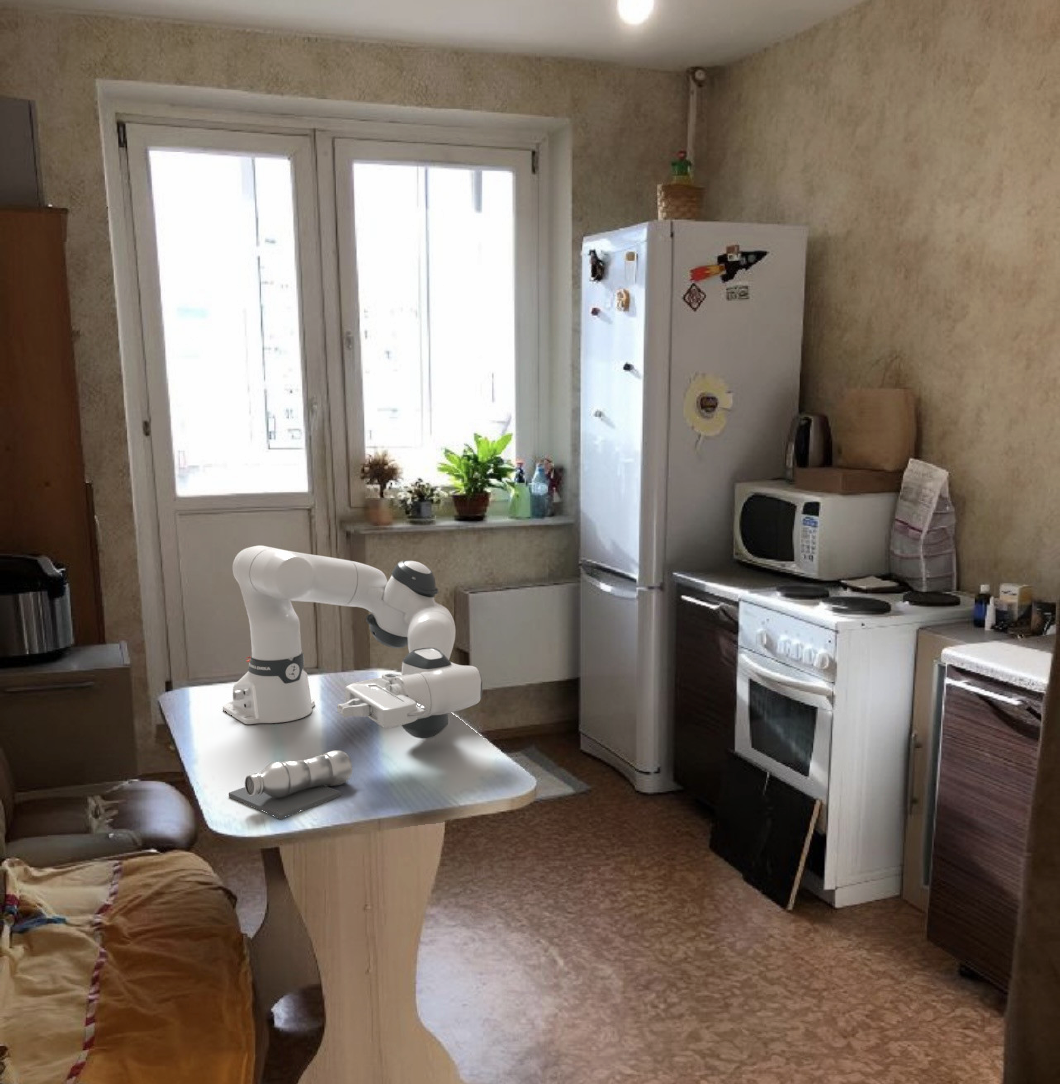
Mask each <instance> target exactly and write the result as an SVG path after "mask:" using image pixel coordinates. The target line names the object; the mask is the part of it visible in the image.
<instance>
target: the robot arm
mask: <svg viewBox="0 0 1060 1084" xmlns="http://www.w3.org/2000/svg"><path fill="white" fill-rule="evenodd" d="M234 557H235V558H234V560H233V562H232V566H231V567H232V575H233V577H234V579H235V580H236V582H237V584H238V586H239V588H240V592H241V596H242V599H243V603H244V606H245V609H246V614H247V617H248V623H249V632H250V641H251V645H250V646H251V656H248V657H247V656H246V659H248V660H246V663H248V668H247V672H246V673H245V674H244V675H243V676H242V677H241V678H240V679H238V681H237V682H235V684H234V685H233V687H232V701H230V702H227V703H226V704H224V705H222V711H223V710H224V712H225V711H226V712H227V713H226V712H225V713H226V714H228V715H229V716H231V715H232V716H231V717H233V718H234V719H236V720H238V721H239V722H241V723H243V724H244V725H254V724H273V723H274V724H277V723H285V722H286V723H287V722H292V721H296V720H299V719H303V718H304V717H305V718H306V717H307V716H308V715H309V716H310V714H311V713H312V712H313V707H315V705H316V704H315V700H314V699H312V697H311V690H310V684H309V677H308V672H306V671H305V670H304V668H305V657H304V652H303V651H302V639H301V622H300V618H299V616H298V614H297V613H296V611H295V609H294V606H293V603H292V602H307V603H308V602H309V603H319V604H327V605H335V606H342V607H351V608H353V607H354V608H356V607H357V608H362V609H365V610H366V611H368V612H370V613H369V614H368V615H366V617H365V621H366V623H367V624H369V630H370V632H371V634H372V635H373V637H374V639H375V640H376V641H377V642H378V643H380V644H382V645H383V646H386V647H389V648H392V649H401V648H402V649H403V648H405V647H407V649H408V654H407V655H405V656H404V658H403V659H402V663H401V674H395V673H390V672H389V673H383V674H382V675H381V678H379V677H375V678H371V679H370V678H369V679H365V680H361V681H357V682H353V683H350V684H348V685H346V686H345V687H344V698H345V699H344V700H345V702H344V703H338V704H337V707H336V708H337V713H338V714H339V715H341V716H342V717H343V718H348V717H349V718H350V717H367V718H369V719H370V720H372V721H373V722H375V723H376V724H377V725H380V727H382V728H384V729H385V728H387V729H391V728H393V729H394V728H397V727H402V729H404V731H405V732H407V733H408V734H409V735H410V736H412V737H414V738H417V739H430V738H434V737H435V736H437V735H438V734H440V733H441V732H443V730H445V728H446V727H448V725H449V714H450V713H454V712H458V711H462V710H465V709H467V708H470V707H474V706H476V705H477V704H478V703H479V702H480V701H481V699H482V696H483V681H482V675H481V673H480V670H479V669H478V667H476V666H474V665H462V664H457V663H455V662H452V661H450V658H451V655H452V651H453V648H454V644H455V641H456V625H455V624H456V623H455V620H454V618H453V616H452V614H451V612H450V610H449V609H448V608H447V607H445V606H444V605H442V604H440V603H438V602H436V601H435V597H436V595H438V594H439V588H437V587H436V586H437V585H436V583H437V582H436V578H435V575H434V573H433V571H432V570H431V569H430V568H429V567H427V566H426V565H425V564H423V563H421V562H419V561H415V560H410V559H409V560H408V559H404V560H401V561H399V562H398V563H397V564H396V565H395V566H394V568H393V569H392V571H391V576H390V578H389V579H387V576H386V575H385V572H383V571H382V570H381V569H378V568H376V567H374V566H371V565H368V564H366V563H362V562H358V561H353V560H348V559H343V558H337V557H330V556H324V555H318V554H317V555H316V554H309V553H305V552H297V551H291V550H286V549H281V548H276V547H272V546H266V545H255V546H250V547H246V548H244V549H242V550H241V551H239V552H238V553H237V554H236V556H234Z"/></svg>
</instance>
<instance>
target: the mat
mask: <svg viewBox="0 0 1060 1084" xmlns="http://www.w3.org/2000/svg"><path fill="white" fill-rule="evenodd" d="M341 795H342V794H341V791H339V790H336V789H334V788H332V787H330V786H327V785H326V786H319V787H312V788H308V789H304V790H301V791H298V792H295V793H292V794H290V795H287V796H285V797H281V798H274V797H271V796H269V795H267V794H265V793H262V794H261V795H253V796H250V795H248V794H247V792H246V789H245V786H244V787H241V788H238V789H236V790H233V791H229V792H228V798H230V797H231V798H230V799H233V800H235V801H237V800H239V801H240V802H239V801H238V802H239V803H242V802H243V803H242V804H244V803H245V805H246V804H247V806H249V805H250V806H249V807H251V806H252V807H251V808H253V807H255V808H257V809H256V810H258V809H259V810H258V811H260V810H263V811H265V812H267V813H268V815H269V814H270V816H271V815H274V816H275V817H274V816H273V817H274V818H276V817H278V818H279V819H278V818H277V819H278V820H283V819H285V818H286V817H285V816H288V815H291V816H293V815H296V814H298V813H300V812H299V811H300V810H303V811H306V810H308V809H311V808H313V807H316V806H318V805H322V804H323V803H326V802H329V801H331V800H334V799H337V798H339V797H340V796H341ZM255 808H254V809H255ZM305 809H306V810H305ZM265 812H264V813H265ZM297 812H298V813H297ZM267 813H266V814H267ZM295 813H296V814H295ZM292 814H293V815H292ZM284 817H285V818H284ZM288 817H289V816H288ZM282 818H283V819H282Z"/></svg>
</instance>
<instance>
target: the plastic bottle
mask: <svg viewBox="0 0 1060 1084" xmlns="http://www.w3.org/2000/svg"><path fill="white" fill-rule="evenodd" d="M352 774H353V764H352V760H351V758H350V756H349V755H348V753H346V752H345V751H342V750H331V751H328V752H324V753H322V754H320V755H318V756H317V755H316V756H314V757H310V758H307V759H306V758H305V759H302V760H301V759H299V760H294V761H293V760H292V761H274V762H272V763H270V764H268V765H267V766H266V767H265V768H264V769H263V770H262V771H261V772H260V773H259V772H256V773H253V774H249V775H247V776H246V777H245V779H244V787H245V789H246V792H247V794H248V795H250V796H253V795H261V794H262V793H265V794H267V795H269V796H271V797H274V798H281V797H285V796H287V795H290V794H292V793H295V792H298V791H301V790H304V789H308V788H312V787H319V786H327V787H331V786H332V787H334V786H340V785H343V784H345V783H346V782H348V781H349V779H350V778H351V776H352Z"/></svg>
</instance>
